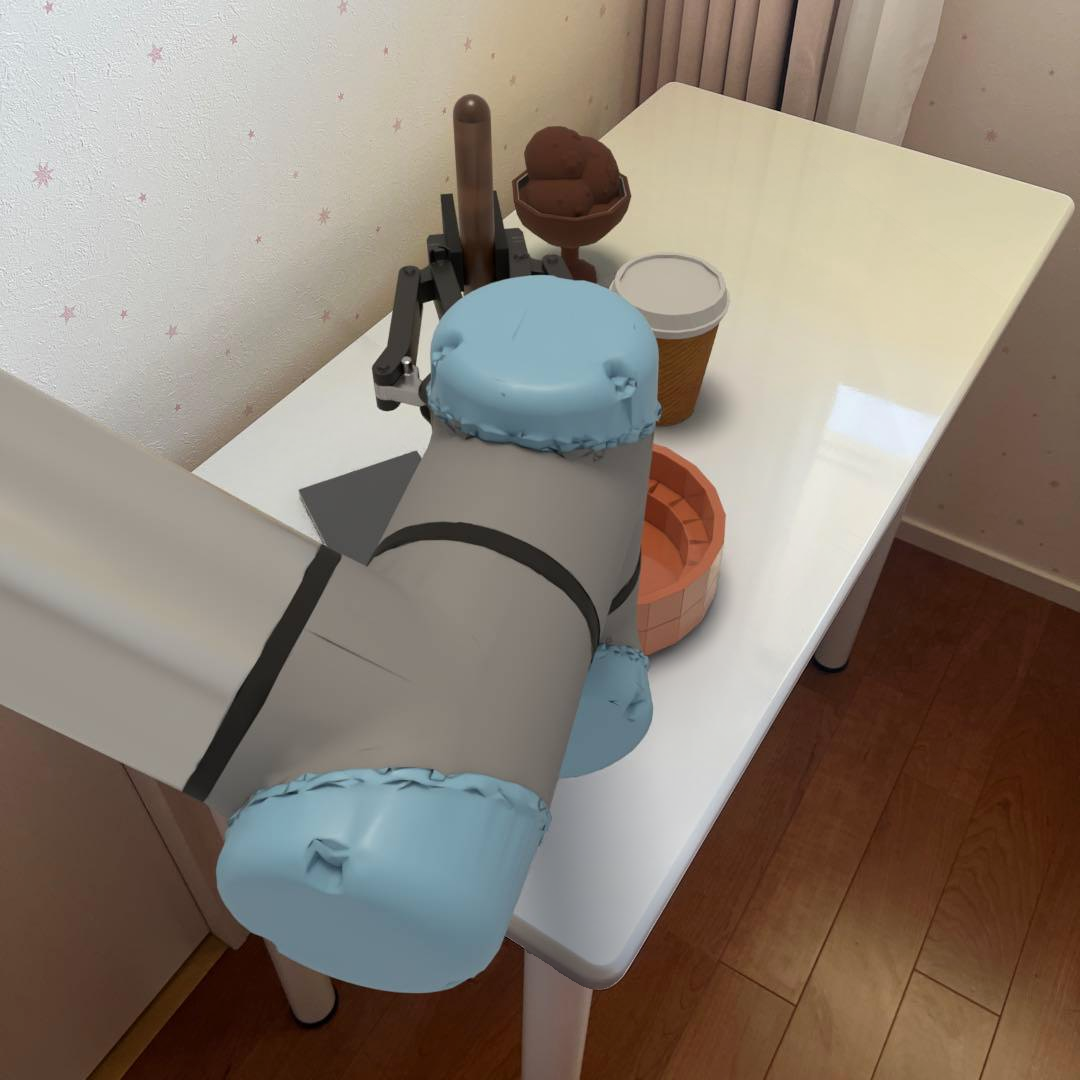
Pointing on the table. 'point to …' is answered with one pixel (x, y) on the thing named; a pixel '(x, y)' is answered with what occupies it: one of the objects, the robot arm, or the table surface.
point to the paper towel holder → (475, 190)
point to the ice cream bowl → (570, 194)
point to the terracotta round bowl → (677, 550)
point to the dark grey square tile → (359, 505)
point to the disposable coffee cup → (676, 321)
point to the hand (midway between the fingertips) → (469, 212)
